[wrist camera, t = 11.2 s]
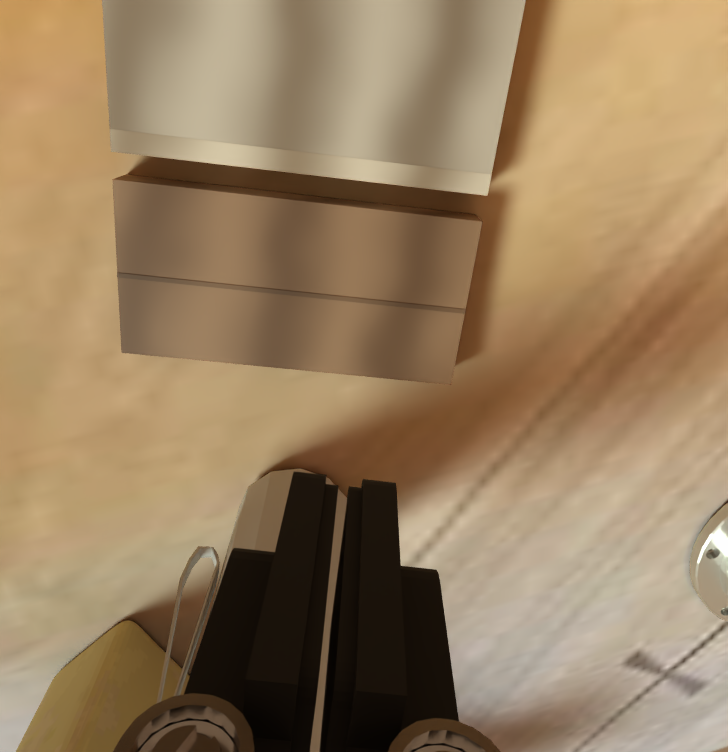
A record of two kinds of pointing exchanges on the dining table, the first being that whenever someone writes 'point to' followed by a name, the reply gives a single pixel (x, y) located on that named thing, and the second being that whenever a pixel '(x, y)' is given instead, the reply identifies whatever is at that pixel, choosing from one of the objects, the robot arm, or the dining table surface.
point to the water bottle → (261, 533)
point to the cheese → (101, 693)
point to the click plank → (315, 85)
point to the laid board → (291, 279)
